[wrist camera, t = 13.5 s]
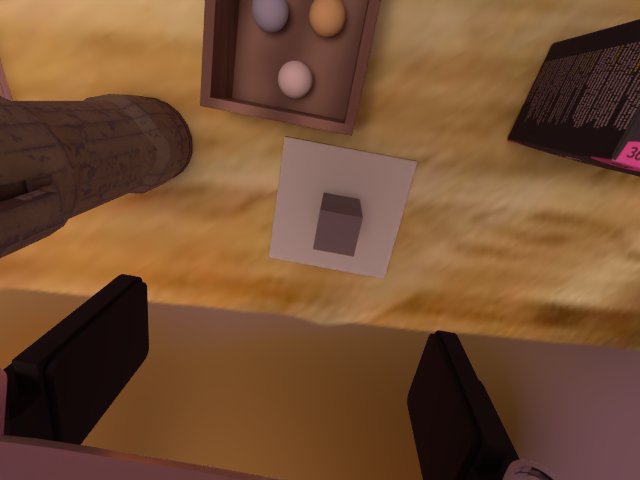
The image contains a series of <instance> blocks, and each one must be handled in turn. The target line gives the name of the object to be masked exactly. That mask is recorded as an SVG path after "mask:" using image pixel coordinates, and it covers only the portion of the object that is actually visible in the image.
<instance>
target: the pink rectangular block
mask: <svg viewBox="0 0 640 480" xmlns="http://www.w3.org/2000/svg"><path fill="white" fill-rule="evenodd" d="M0 96H1V97H3V98H6V99H8V100H10V101H13V99H12V96H11V93H10V89H9V86H8V83H7V80H6V77H5V73H4V70H3V67H2V64H1V60H0Z"/></svg>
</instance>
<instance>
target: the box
mask: <svg viewBox="0 0 640 480" xmlns="http://www.w3.org/2000/svg"><path fill="white" fill-rule="evenodd" d="M313 1H314V0H286V2H287V5H288V9H289V15H288V19H287V22H286V24H285V26H284V27H283V28H282V29H281V30H279V31H277V32H266V31H264V30H262V29H261V28H260V27H259V26H258V25H257V24H256V23H255V21H254V19H253V16H252V2H253V0H205V11H204V33H203V54H202V76H201V97H200V106H204V107H209V108H214V109H219V110H224V111H229V112H234V113H239V114H245V115H250V116H255V117H260V118H265V119H270V120H275V121H280V122H285V123H290V124H295V125H301V126H306V127H311V128H316V129H321V130H326V131H331V132H336V133H341V134H346V135H351V136H352V134H353V129H354V124H355V119H356V115H357V110H358V105H359V100H360V95H361V91H362V86H363V81H364V76H365V72H366V67H367V62H368V57H369V53H370V48H371V43H372V38H373V34H374V29H375V24H376V19H377V15H378V10H379V5H380V0H342V2H343V4H344V6H345V9H346V20H345V24H344V26H343V28H342V29H341V31H340V32H339V33H338V34H336V35H334V36H332V37H323V36H321V35H319V34H317V33H316V32H315V31H314V29H313V28H312V26H311V23H310V19H309V12H310V7H311V5H312V3H313ZM289 61H300V62H303V63H304V64H305V65H307V67H308V68H309V69H310V71H311V74H312V79H313V81H312V87H311V89H310V91H309V92H308V93H307V94H306V95H305V96H304V97H301V98H297V99H294V98H290V97H288V96H286V95H285V94H284V93H283V92H282V91H281V89H280V87H279V84H278V74H279V71H280V69H281V68H282V66H283V65H284V64H286V63H287V62H289Z"/></svg>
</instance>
